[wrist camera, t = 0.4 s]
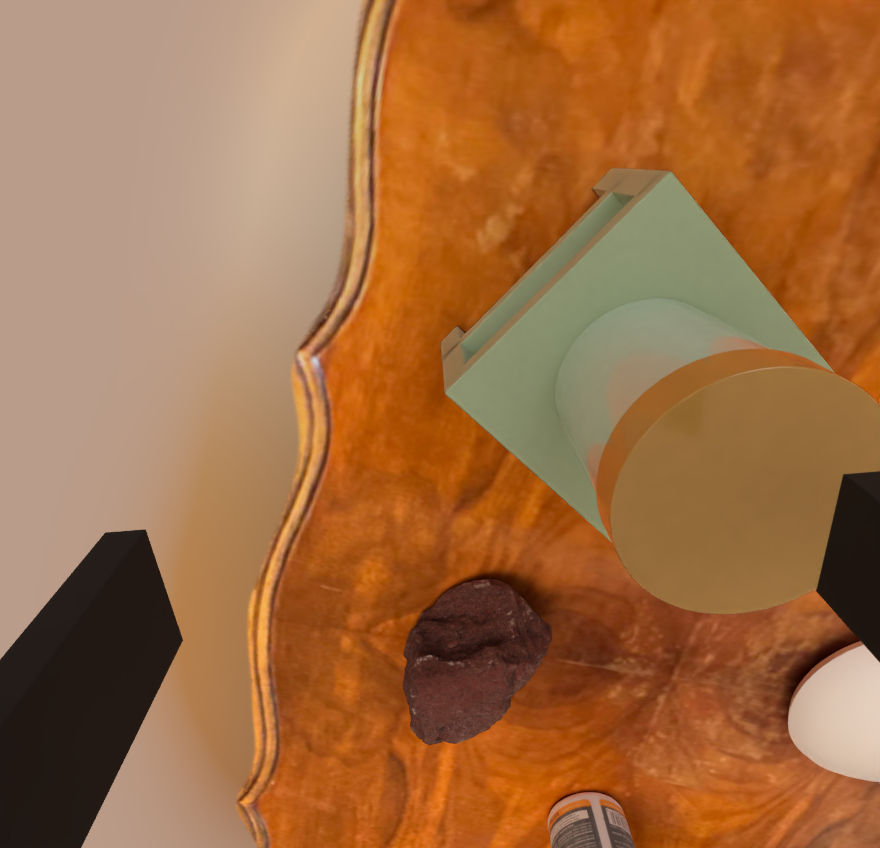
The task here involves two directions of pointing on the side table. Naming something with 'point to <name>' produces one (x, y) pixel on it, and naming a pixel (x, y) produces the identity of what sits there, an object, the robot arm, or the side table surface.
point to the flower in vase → (840, 713)
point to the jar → (711, 453)
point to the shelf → (589, 297)
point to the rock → (470, 659)
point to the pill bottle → (588, 823)
